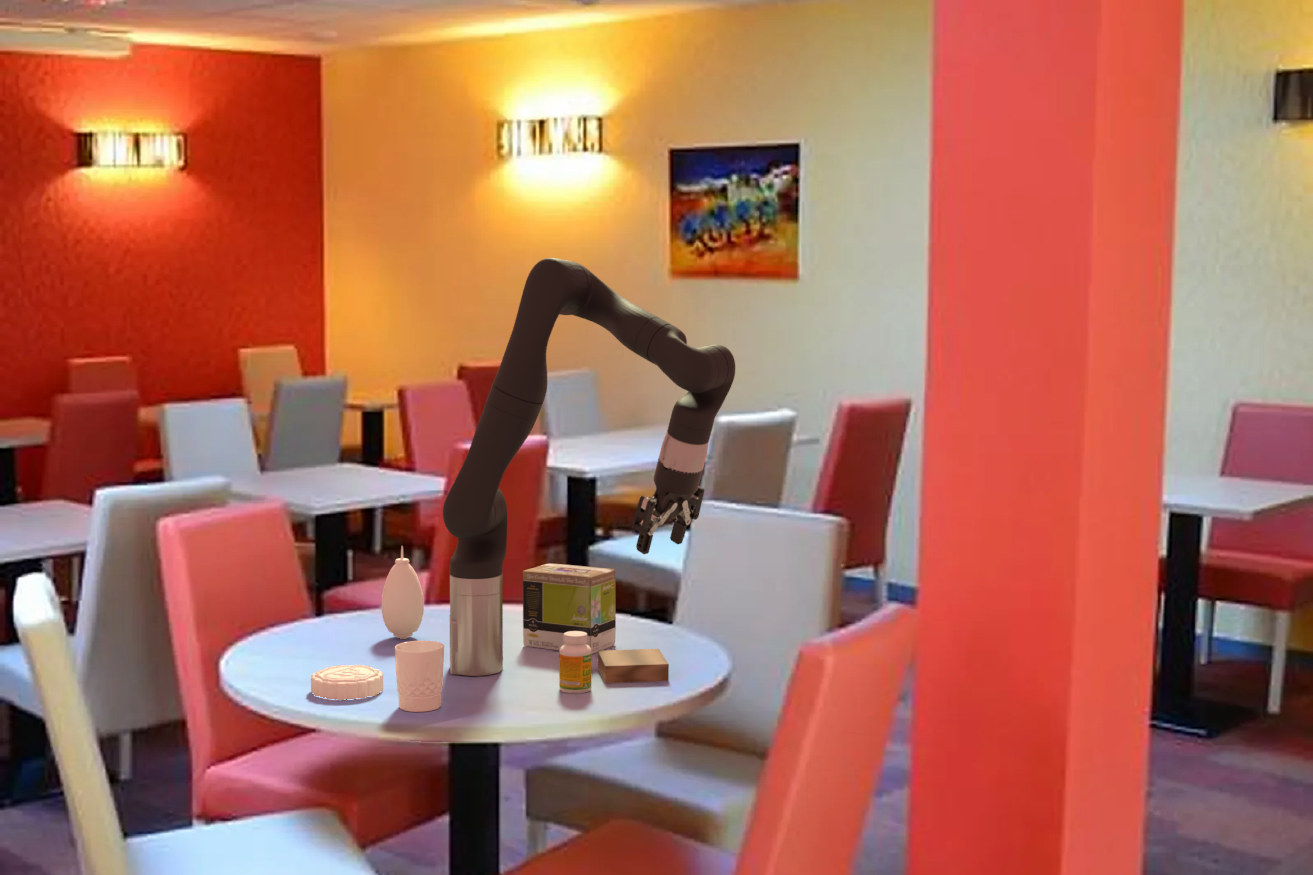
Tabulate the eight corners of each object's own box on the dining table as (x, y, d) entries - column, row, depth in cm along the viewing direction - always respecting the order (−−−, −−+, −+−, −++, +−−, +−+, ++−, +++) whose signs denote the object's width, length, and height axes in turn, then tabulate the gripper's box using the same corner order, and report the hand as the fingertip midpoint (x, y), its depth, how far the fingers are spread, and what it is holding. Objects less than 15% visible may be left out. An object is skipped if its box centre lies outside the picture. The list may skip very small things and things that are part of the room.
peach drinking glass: (446, 700, 261) (446, 640, 260) (441, 713, 253) (441, 652, 252) (398, 700, 260) (398, 640, 259) (392, 713, 252) (391, 652, 251)
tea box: (617, 645, 299) (617, 568, 297) (590, 656, 290) (590, 577, 289) (549, 636, 306) (549, 560, 304) (521, 646, 297) (521, 569, 296)
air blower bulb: (374, 637, 304) (373, 544, 302) (408, 631, 309) (407, 540, 307) (396, 644, 298) (395, 550, 296) (431, 638, 303) (430, 545, 301)
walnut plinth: (605, 683, 272) (605, 666, 271) (597, 667, 282) (597, 650, 282) (668, 681, 273) (668, 664, 273) (658, 665, 284) (658, 648, 284)
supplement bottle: (587, 695, 264) (587, 638, 263) (555, 693, 265) (555, 636, 264) (594, 686, 269) (594, 630, 268) (564, 684, 271) (564, 629, 269)
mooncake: (346, 706, 257) (346, 684, 257) (295, 694, 264) (295, 673, 264) (398, 690, 267) (398, 669, 267) (348, 679, 274) (348, 659, 273)
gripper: (692, 444, 266) (670, 529, 272) (636, 457, 256) (614, 545, 262) (725, 463, 262) (702, 549, 268) (669, 477, 252) (646, 565, 258)
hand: (658, 547), depth 265 cm, fingers open, 8 cm apart
